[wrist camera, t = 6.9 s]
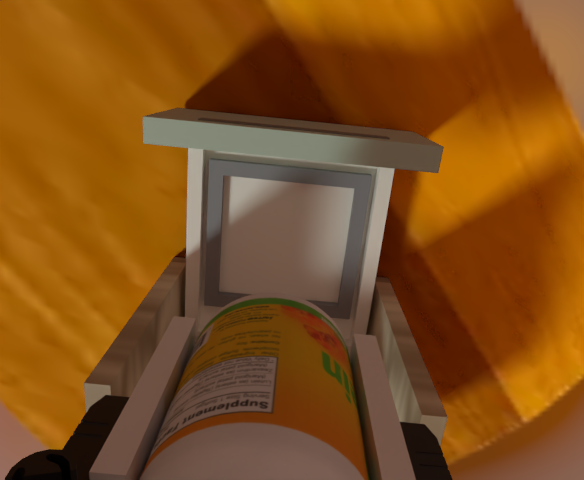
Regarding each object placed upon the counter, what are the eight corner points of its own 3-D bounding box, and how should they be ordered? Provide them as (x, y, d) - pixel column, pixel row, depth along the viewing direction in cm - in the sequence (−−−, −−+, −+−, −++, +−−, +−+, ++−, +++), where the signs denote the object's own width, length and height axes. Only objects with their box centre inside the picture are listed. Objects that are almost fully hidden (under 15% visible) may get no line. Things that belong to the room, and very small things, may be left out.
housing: (174, 256, 30) (71, 400, 17) (388, 277, 30) (455, 436, 17) (172, 429, 34) (91, 647, 21) (357, 446, 35) (391, 673, 21)
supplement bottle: (365, 399, 17) (440, 786, 8) (227, 432, 17) (142, 826, 8) (324, 269, 15) (357, 563, 6) (173, 311, 16) (-8, 635, 7)
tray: (177, 106, 26) (142, 115, 21) (413, 130, 26) (443, 145, 21) (174, 321, 31) (146, 375, 25) (375, 340, 31) (391, 399, 25)
